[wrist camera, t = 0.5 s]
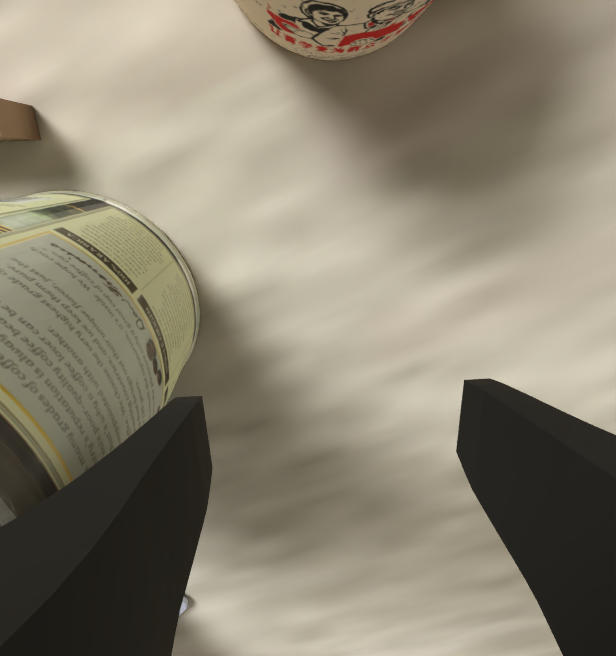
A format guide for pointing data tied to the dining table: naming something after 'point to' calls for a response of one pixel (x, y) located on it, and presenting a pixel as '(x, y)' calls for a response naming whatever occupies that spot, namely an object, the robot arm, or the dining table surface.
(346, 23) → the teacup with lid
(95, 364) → the coffee can
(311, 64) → the dining table surface
